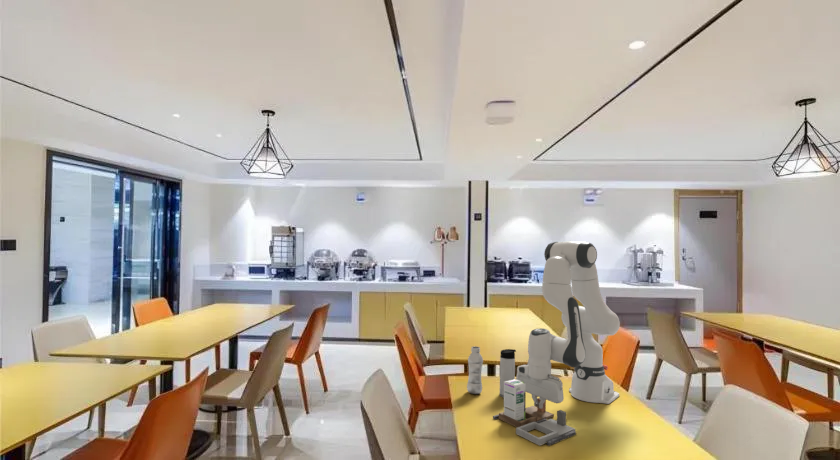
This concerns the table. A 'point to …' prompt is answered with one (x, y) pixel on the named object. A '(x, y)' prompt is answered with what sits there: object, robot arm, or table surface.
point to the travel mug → (506, 368)
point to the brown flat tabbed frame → (528, 415)
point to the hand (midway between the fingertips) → (538, 407)
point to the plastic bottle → (475, 371)
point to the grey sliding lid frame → (546, 429)
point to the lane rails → (552, 439)
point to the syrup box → (515, 399)
